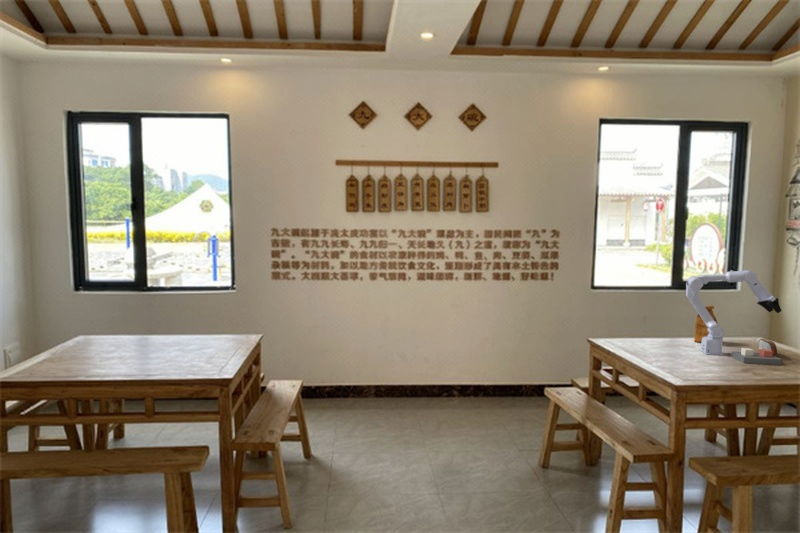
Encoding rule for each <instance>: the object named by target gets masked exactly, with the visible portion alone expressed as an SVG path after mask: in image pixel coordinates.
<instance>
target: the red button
mask: <svg viewBox="0 0 800 533" xmlns="http://www.w3.org/2000/svg"><path fill="white" fill-rule="evenodd" d="M758 353H759V355H761V356H763V357H772V353H773V351H771V350H769V349H760V350H759V352H758Z"/></svg>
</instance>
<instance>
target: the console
mask: <svg viewBox="0 0 800 533" xmlns="http://www.w3.org/2000/svg"><path fill="white" fill-rule="evenodd" d="M759 353H760V352H754V354H753V356H744V355H742V354H741V351H731V358H732V359H735V360H737V361H739V362H741V363H742V364H748V365H749V364H753V365H771V366H782V365H783V359H782V358H780V357H778V356H773V355H772V357H763V356H761V355H759Z"/></svg>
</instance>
